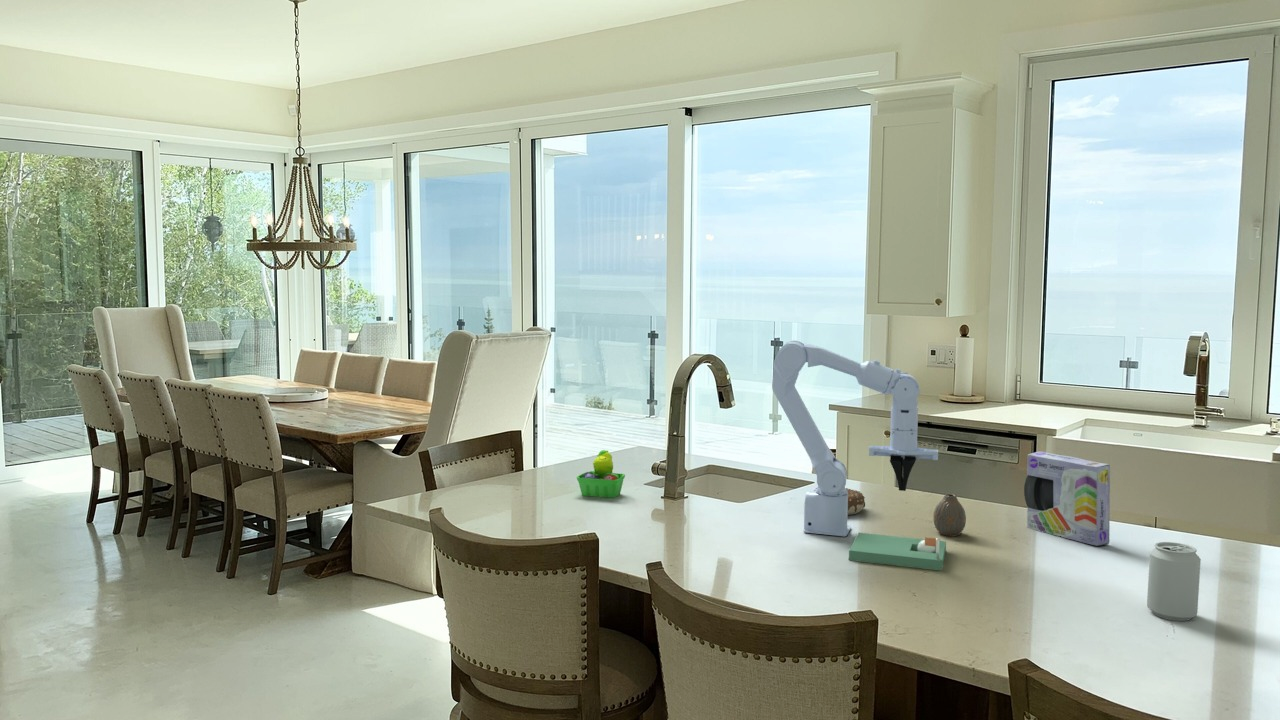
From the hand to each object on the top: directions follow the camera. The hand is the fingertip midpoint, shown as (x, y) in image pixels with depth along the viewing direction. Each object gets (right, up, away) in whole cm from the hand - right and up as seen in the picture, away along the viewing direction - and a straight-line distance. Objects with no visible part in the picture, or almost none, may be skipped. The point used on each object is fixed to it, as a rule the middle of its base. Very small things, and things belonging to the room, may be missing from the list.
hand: (902, 489), depth 204 cm
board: (-5, -12, -13) cm, 18 cm away
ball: (+2, -11, -16) cm, 19 cm away
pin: (0, -12, -21) cm, 25 cm away
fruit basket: (-68, -7, +39) cm, 79 cm away
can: (+33, -15, -46) cm, 59 cm away
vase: (+11, -10, +3) cm, 16 cm away
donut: (-10, -9, +24) cm, 27 cm away
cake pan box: (+37, -11, +2) cm, 38 cm away
